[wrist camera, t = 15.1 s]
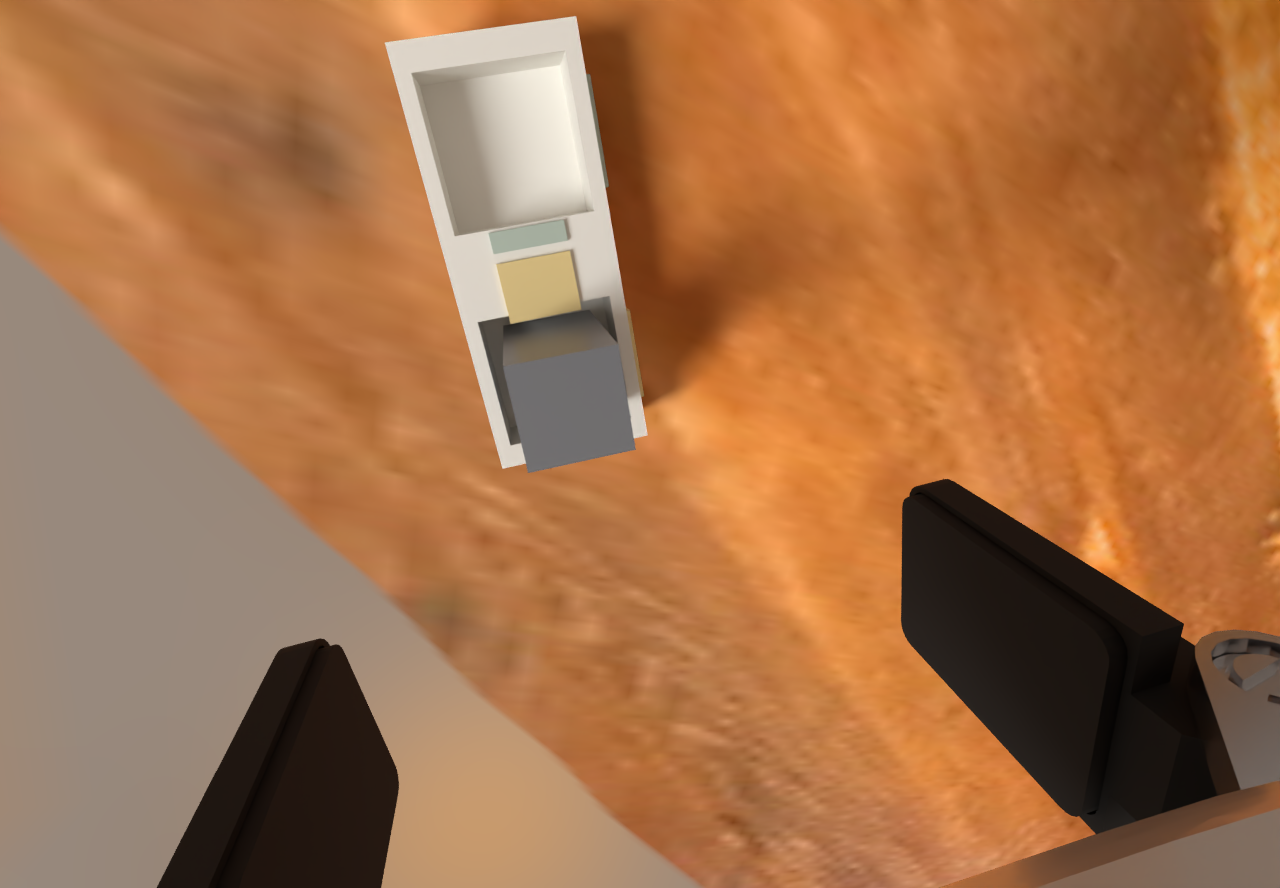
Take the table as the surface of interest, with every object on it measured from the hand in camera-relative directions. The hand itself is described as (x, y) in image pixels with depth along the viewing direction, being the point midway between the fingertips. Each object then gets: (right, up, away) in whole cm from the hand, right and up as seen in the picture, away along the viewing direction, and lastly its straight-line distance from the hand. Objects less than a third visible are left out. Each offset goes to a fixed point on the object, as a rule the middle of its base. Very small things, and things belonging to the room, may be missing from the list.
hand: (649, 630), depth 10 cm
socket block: (-5, +11, +18) cm, 22 cm away
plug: (-4, +7, +19) cm, 21 cm away
